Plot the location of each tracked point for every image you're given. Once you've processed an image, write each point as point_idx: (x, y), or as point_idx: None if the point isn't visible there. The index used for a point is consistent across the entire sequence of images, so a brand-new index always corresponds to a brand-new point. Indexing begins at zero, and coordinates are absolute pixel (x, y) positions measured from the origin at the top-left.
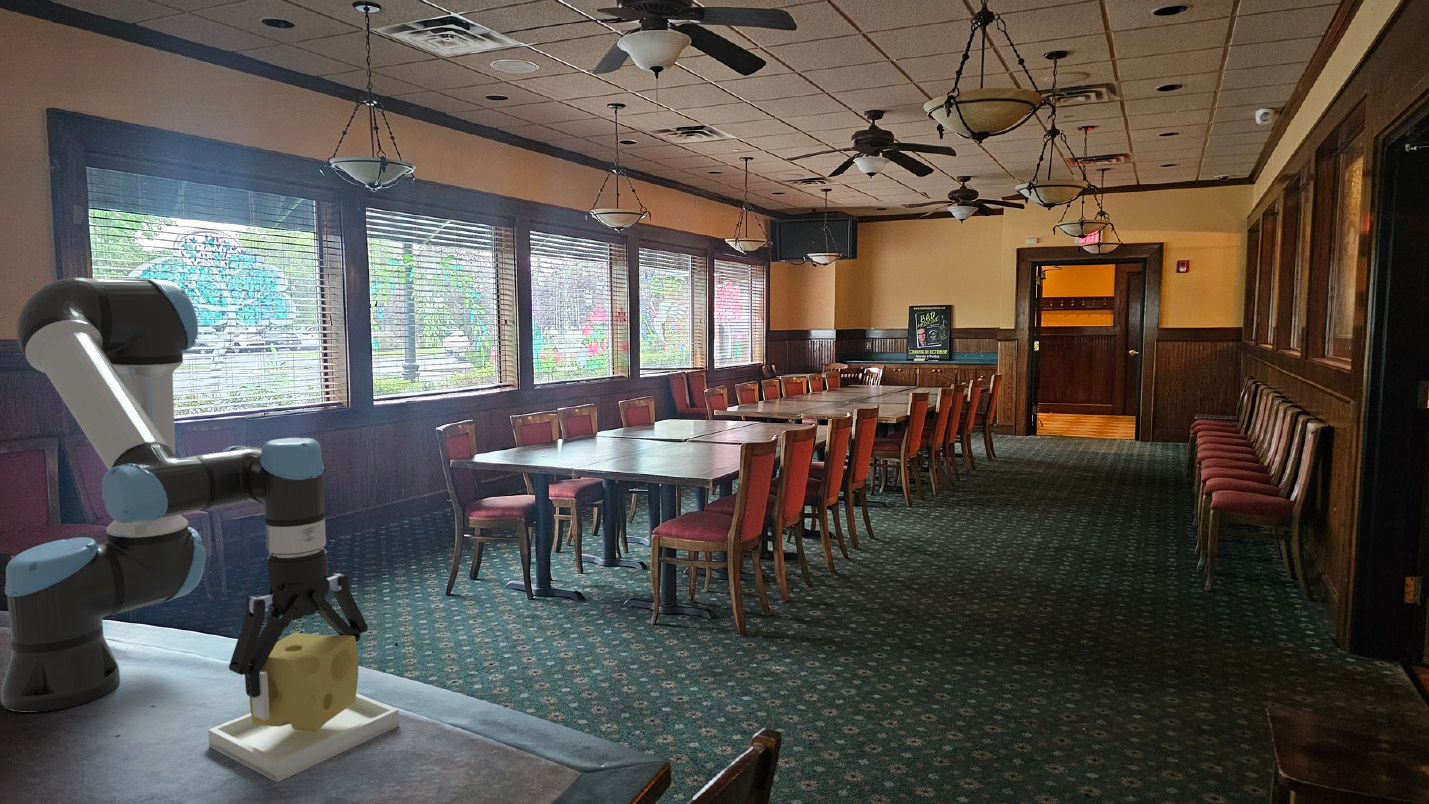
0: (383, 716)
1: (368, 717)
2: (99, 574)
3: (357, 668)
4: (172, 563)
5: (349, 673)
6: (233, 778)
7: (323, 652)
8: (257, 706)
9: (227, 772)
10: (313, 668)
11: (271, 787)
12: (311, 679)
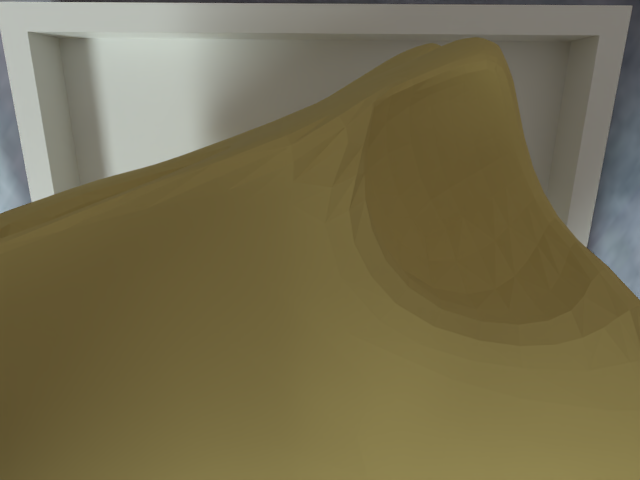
0: (82, 2)
1: (104, 152)
2: None
3: None
4: None
5: (66, 198)
6: (627, 183)
7: (231, 241)
8: None
9: (607, 237)
10: (400, 172)
11: (619, 3)
12: (497, 51)
